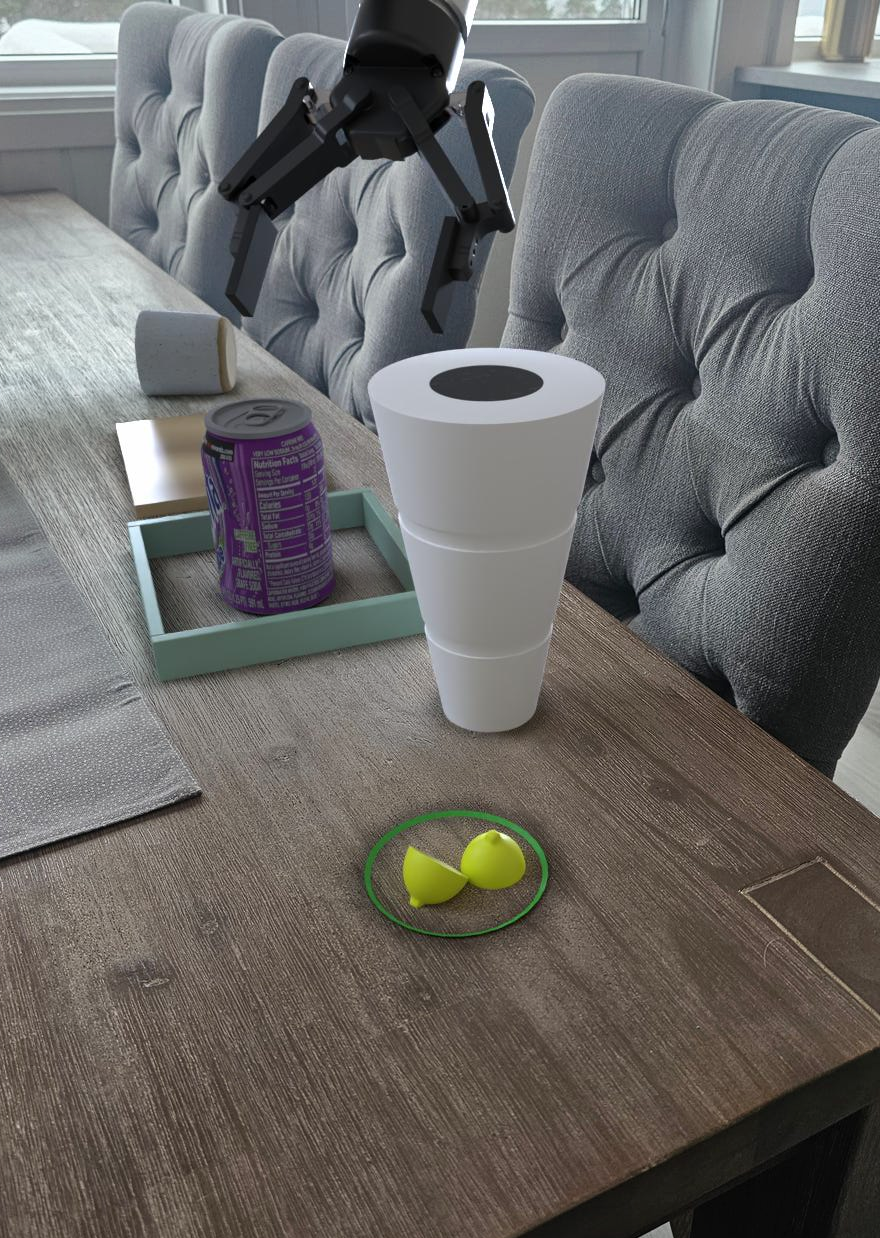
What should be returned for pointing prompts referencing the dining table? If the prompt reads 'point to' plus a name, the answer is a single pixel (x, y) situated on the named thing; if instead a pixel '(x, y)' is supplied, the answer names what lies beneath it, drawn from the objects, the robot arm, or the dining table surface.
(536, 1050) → the dining table surface
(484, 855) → the green round dish
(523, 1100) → the dining table surface
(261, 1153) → the dining table surface
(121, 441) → the birch board
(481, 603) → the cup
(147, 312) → the ceramic mug
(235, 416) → the beverage can
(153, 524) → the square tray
